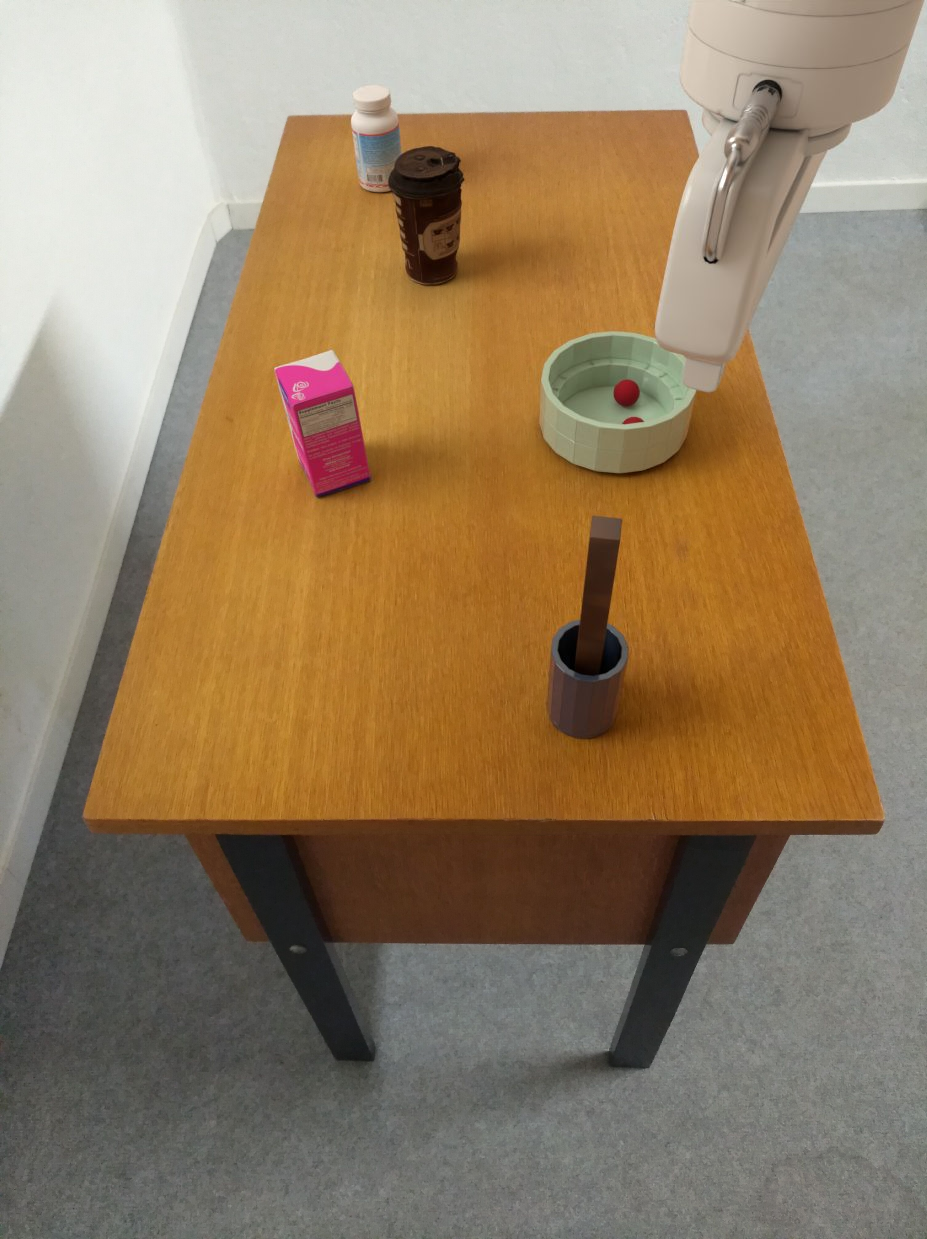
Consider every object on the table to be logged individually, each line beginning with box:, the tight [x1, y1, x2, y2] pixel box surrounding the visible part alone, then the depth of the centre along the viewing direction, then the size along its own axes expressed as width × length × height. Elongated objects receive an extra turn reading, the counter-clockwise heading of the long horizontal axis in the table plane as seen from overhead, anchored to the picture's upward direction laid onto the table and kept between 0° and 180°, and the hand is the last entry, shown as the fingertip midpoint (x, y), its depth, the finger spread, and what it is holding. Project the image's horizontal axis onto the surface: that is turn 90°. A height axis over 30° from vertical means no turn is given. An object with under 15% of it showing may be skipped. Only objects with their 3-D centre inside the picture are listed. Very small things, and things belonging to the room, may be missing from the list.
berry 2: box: [622, 417, 644, 424], centre depth 85 cm, size 3×3×3 cm
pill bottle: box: [350, 84, 403, 193], centre depth 115 cm, size 6×6×11 cm
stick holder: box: [546, 619, 630, 740], centre depth 66 cm, size 5×5×8 cm
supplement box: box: [273, 349, 372, 499], centre depth 82 cm, size 6×6×12 cm
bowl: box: [538, 330, 697, 474], centre depth 86 cm, size 14×14×6 cm
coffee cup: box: [388, 145, 466, 285], centre depth 101 cm, size 9×8×13 cm
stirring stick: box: [574, 515, 623, 676], centre depth 61 cm, size 2×2×20 cm
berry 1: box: [613, 380, 640, 406], centre depth 89 cm, size 3×3×3 cm
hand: (726, 329), depth 48 cm, fingers open, 8 cm apart
